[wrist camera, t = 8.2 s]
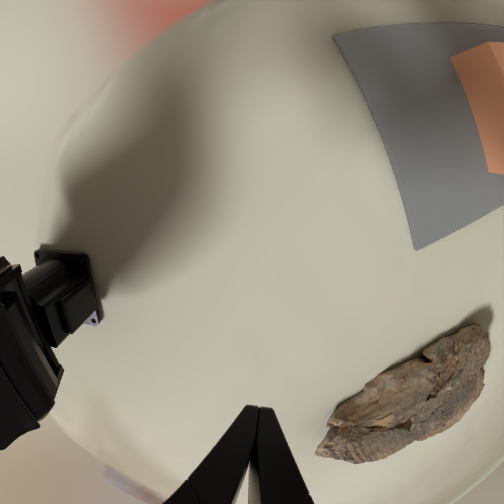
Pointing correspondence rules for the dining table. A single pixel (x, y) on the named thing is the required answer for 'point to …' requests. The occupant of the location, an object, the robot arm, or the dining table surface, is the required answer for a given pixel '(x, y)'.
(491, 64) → the tall box
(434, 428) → the weathered wood piece
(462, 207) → the mat
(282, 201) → the dining table surface
